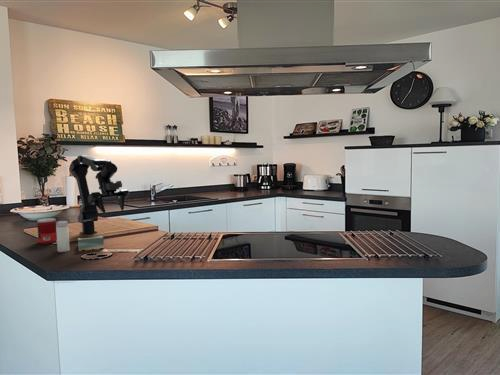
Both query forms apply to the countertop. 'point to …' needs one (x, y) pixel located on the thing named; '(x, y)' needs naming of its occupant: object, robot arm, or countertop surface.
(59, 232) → the mill
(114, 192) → the robot arm
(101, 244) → the stand
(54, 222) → the canned food
